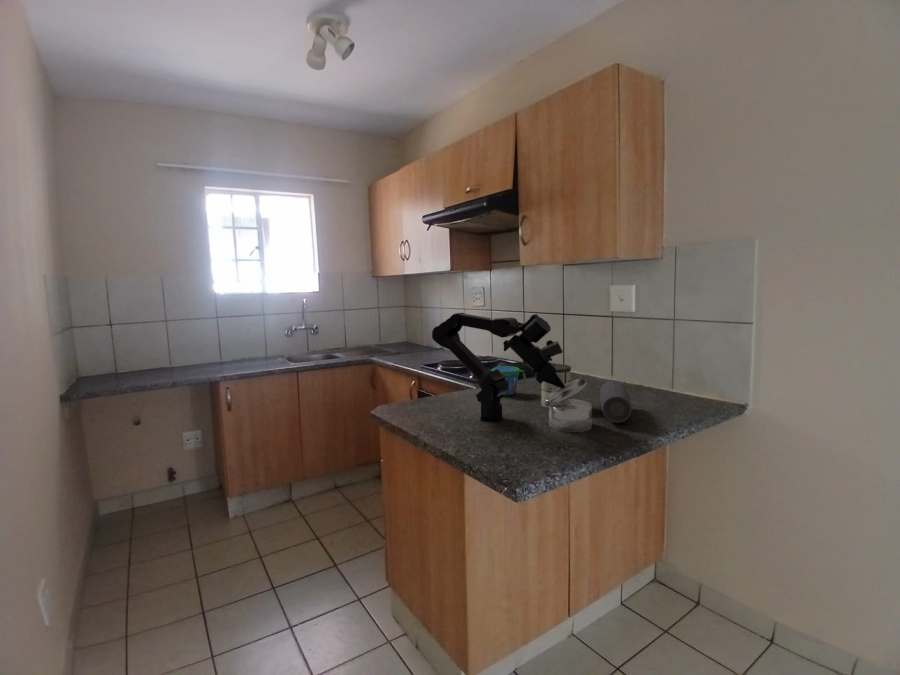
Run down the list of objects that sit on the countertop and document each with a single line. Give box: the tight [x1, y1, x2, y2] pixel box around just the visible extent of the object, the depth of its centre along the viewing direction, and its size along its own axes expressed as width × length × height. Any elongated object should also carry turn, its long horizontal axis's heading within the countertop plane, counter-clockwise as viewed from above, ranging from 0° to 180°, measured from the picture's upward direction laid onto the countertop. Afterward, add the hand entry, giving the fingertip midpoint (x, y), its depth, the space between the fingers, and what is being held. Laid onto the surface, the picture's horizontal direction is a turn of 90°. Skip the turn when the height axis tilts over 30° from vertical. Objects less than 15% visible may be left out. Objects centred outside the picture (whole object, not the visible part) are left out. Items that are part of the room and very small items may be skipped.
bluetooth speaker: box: [599, 380, 633, 424], centre depth 144 cm, size 23×9×10 cm, turn 163°
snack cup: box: [490, 365, 527, 396], centre depth 175 cm, size 16×10×10 cm
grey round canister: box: [548, 398, 593, 433], centre depth 135 cm, size 13×13×7 cm
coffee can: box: [540, 363, 572, 409], centre depth 157 cm, size 10×10×14 cm
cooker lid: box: [545, 373, 588, 405], centre depth 134 cm, size 14×13×2 cm
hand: (563, 387), depth 134 cm, fingers closed
